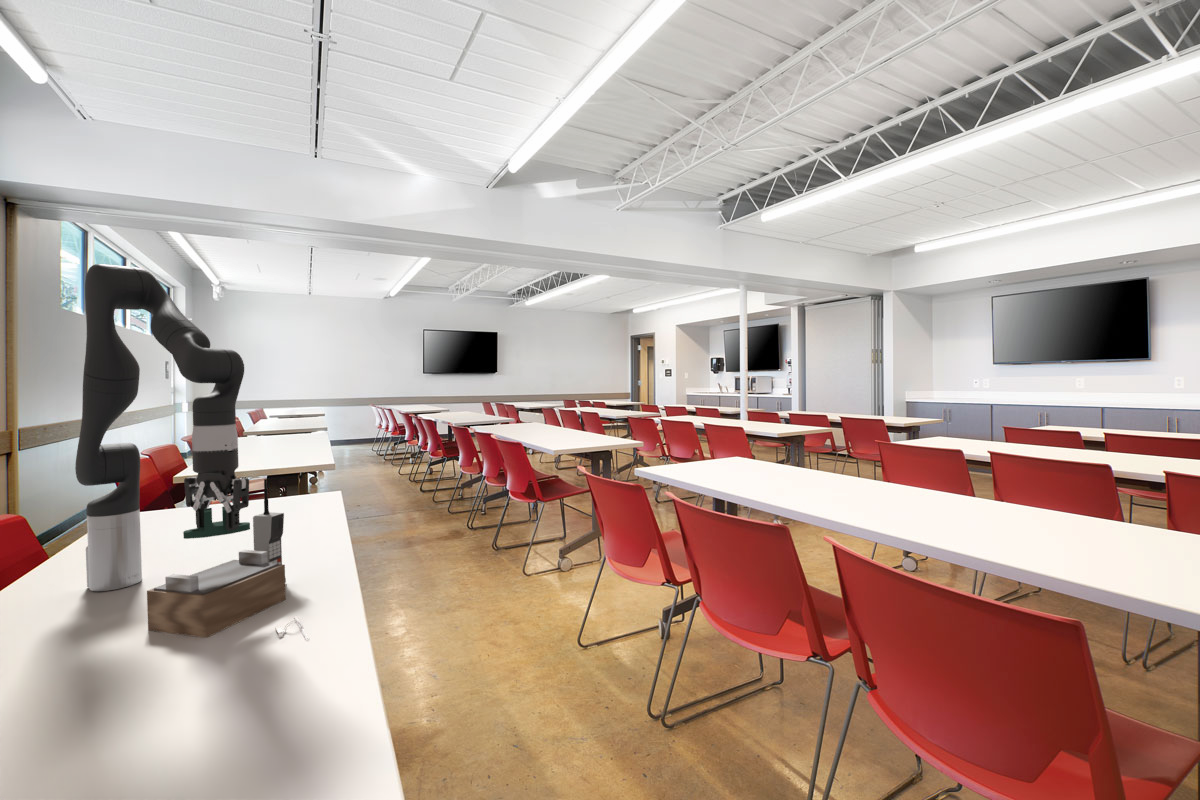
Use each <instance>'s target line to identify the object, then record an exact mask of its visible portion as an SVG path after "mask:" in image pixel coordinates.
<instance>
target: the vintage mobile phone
mask: <svg viewBox="0 0 1200 800" xmlns="http://www.w3.org/2000/svg"><path fill="white" fill-rule="evenodd" d="M263 481H264V482H263V485H264V487H263V488H264V489H263V490H264V492H263V493H264V495H263V496H264V499H263V506H264V507H263V512H262V513H259V514H256V515H254V516H253V517H252V527H253V529H252V531H253V550H254V551H267V561H268V562H269V563H279V564H282V565H283V557H282V556H283V555H282V554H283V553H282V536H283V534H284V524H285V523H284V519H285V513H284V512H270V511H269V498H268V479H267V478H264V479H263ZM286 583H287V578H286V577H285V584H286Z"/></svg>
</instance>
